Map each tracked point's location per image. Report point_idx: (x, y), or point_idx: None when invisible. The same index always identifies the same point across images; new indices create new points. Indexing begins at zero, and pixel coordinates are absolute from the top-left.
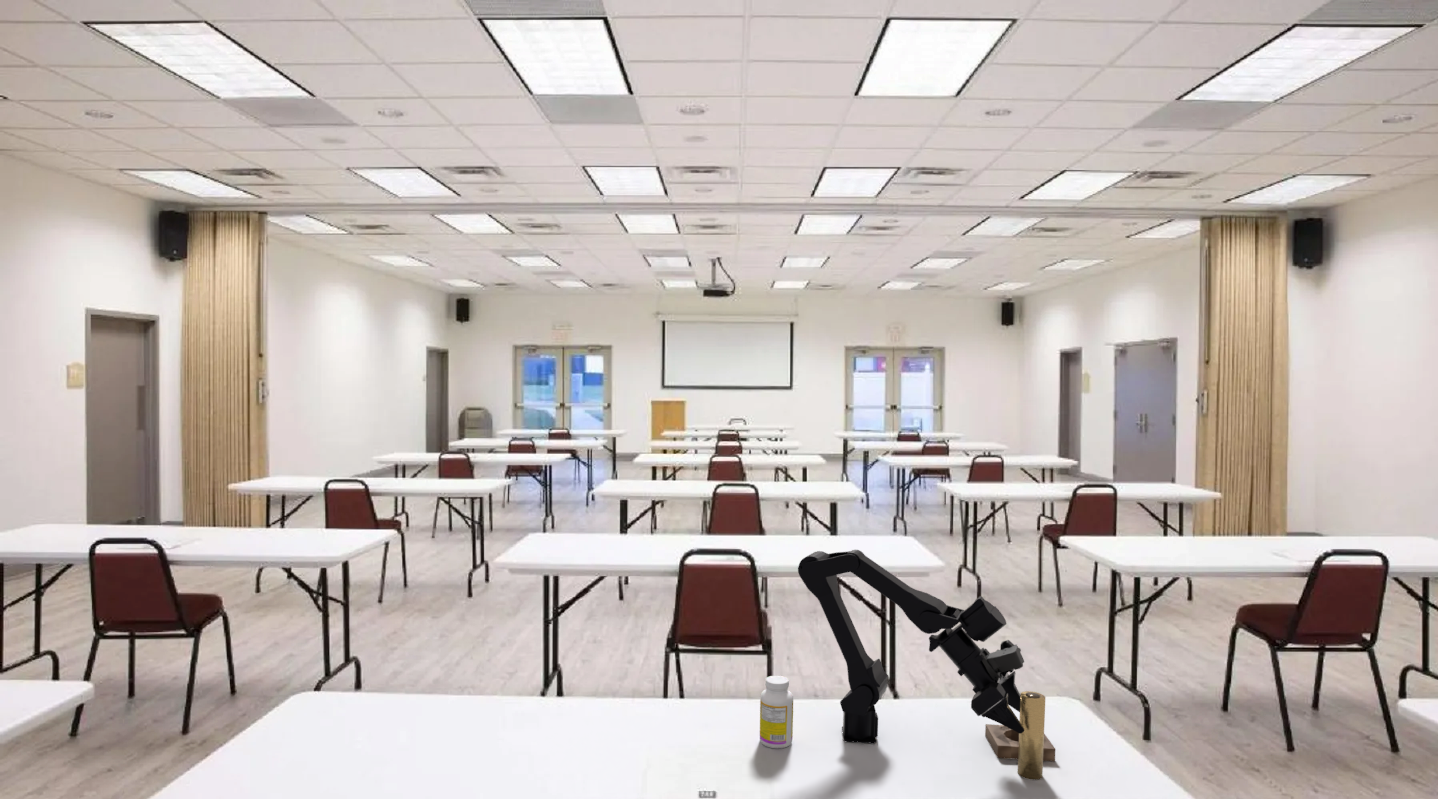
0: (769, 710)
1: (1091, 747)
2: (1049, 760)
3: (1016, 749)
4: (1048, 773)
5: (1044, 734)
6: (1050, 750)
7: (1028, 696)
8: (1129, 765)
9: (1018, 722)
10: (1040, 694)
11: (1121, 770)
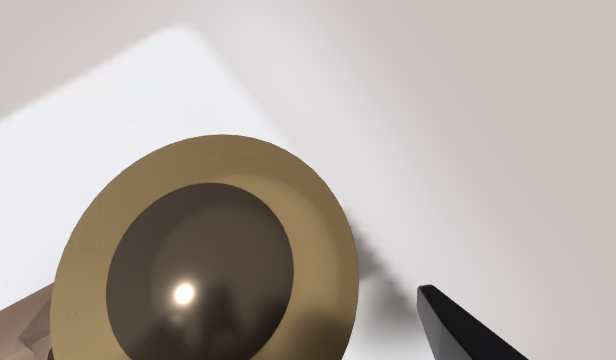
0: None
1: (37, 173)
2: None
3: None
4: None
5: (47, 287)
6: None
7: (283, 314)
8: (111, 87)
9: (485, 327)
10: (114, 203)
11: (147, 96)
